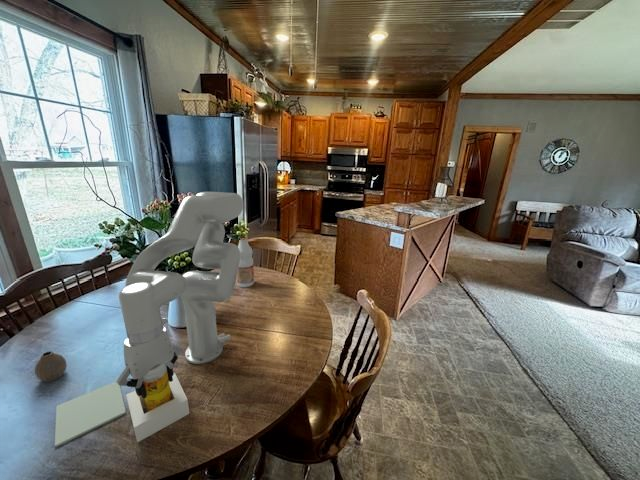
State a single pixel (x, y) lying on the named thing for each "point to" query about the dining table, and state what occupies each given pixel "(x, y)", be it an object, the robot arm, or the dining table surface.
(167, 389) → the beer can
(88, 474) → the dining table surface
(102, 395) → the mat
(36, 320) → the dining table surface
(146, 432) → the sleeve
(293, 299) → the dining table surface
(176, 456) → the dining table surface
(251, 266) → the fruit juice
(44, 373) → the vase
